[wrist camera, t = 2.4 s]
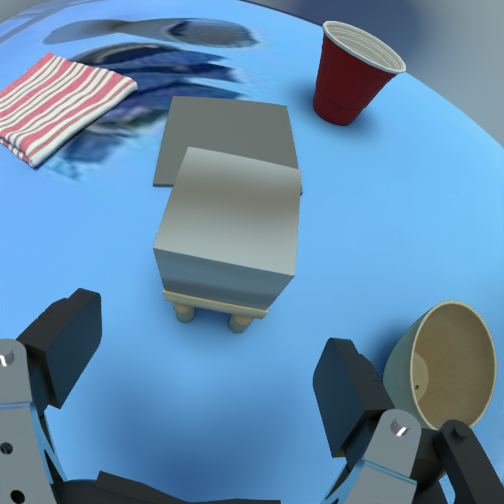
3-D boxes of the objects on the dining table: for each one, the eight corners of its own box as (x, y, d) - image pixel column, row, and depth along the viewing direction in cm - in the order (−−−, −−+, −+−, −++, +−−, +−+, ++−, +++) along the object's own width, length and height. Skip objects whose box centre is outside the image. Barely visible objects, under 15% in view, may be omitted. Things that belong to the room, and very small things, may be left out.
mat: (285, 108, 35) (286, 105, 34) (301, 195, 29) (302, 192, 28) (173, 98, 32) (173, 96, 32) (153, 186, 26) (152, 183, 26)
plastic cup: (356, 153, 33) (401, 76, 23) (281, 108, 35) (307, 26, 24) (378, 119, 38) (414, 57, 28) (316, 82, 39) (341, 17, 29)
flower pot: (438, 325, 25) (490, 301, 19) (441, 422, 21) (497, 419, 14) (356, 323, 24) (406, 296, 17) (354, 440, 19) (409, 450, 13)
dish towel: (52, 64, 35) (49, 49, 32) (140, 93, 33) (139, 71, 30) (-25, 124, 27) (-32, 109, 24) (38, 177, 25) (27, 156, 22)
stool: (247, 336, 22) (296, 278, 11) (172, 321, 21) (149, 249, 11) (256, 268, 24) (303, 169, 14) (188, 254, 24) (187, 144, 13)
